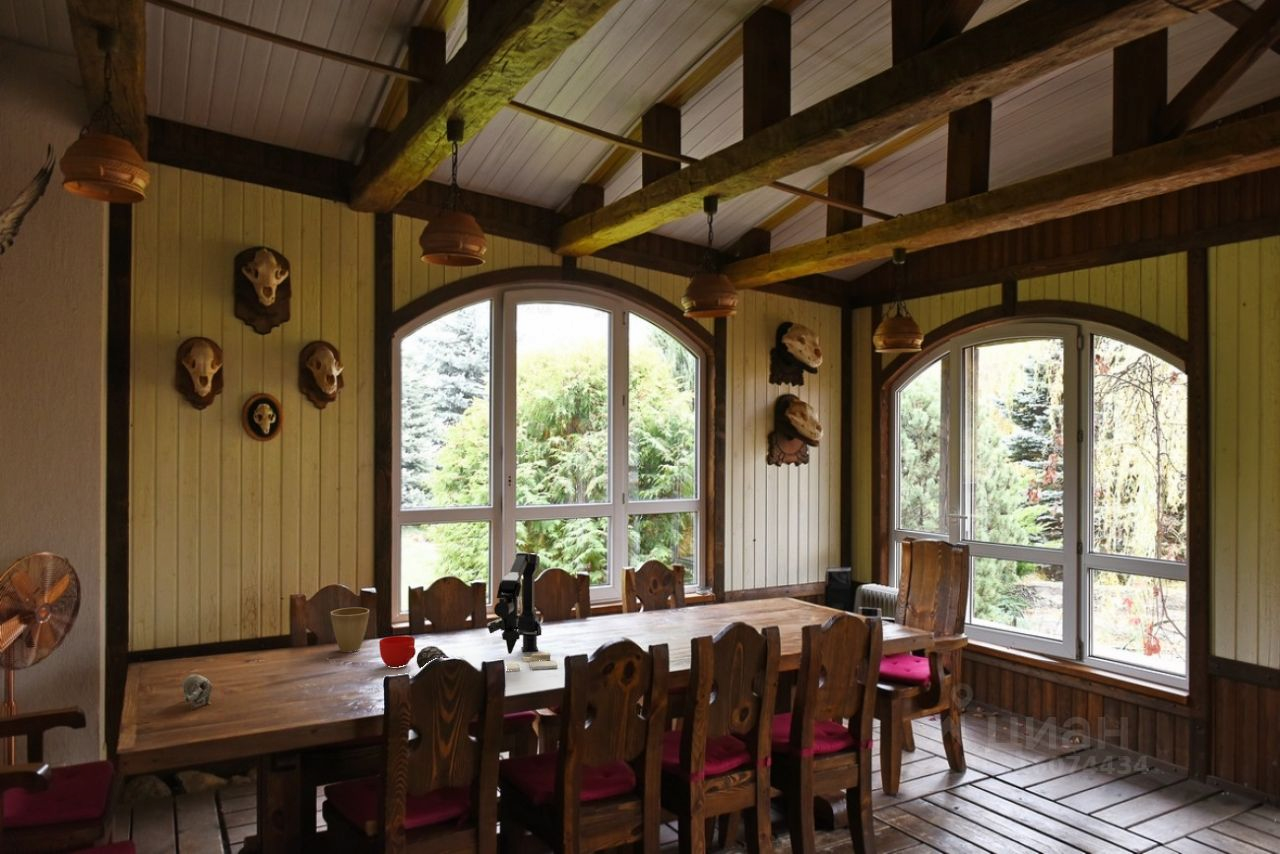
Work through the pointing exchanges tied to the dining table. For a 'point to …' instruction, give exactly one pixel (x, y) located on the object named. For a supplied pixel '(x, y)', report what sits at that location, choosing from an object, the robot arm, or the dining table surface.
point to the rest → (543, 664)
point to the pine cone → (429, 655)
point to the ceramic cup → (397, 650)
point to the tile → (513, 666)
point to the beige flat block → (537, 657)
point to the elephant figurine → (197, 689)
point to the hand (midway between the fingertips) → (509, 653)
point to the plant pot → (349, 627)
